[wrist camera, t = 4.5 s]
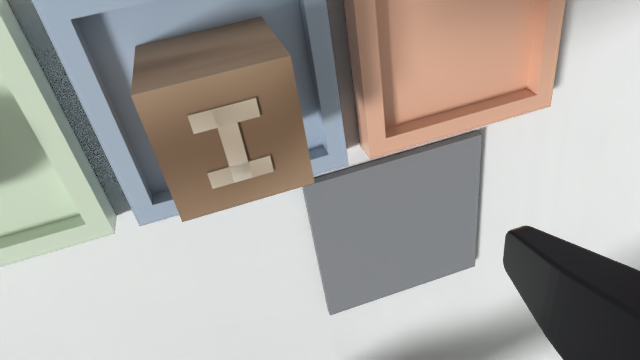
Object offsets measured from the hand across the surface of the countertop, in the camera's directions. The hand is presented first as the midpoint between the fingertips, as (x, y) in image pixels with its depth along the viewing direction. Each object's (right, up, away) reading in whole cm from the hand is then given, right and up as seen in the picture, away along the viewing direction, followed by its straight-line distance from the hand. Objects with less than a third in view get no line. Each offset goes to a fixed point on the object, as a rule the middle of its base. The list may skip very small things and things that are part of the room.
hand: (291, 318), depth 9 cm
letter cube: (-3, +6, +9) cm, 12 cm away
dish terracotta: (+6, +9, +11) cm, 16 cm away
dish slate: (-3, +6, +10) cm, 12 cm away
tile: (+5, 0, +16) cm, 17 cm away
